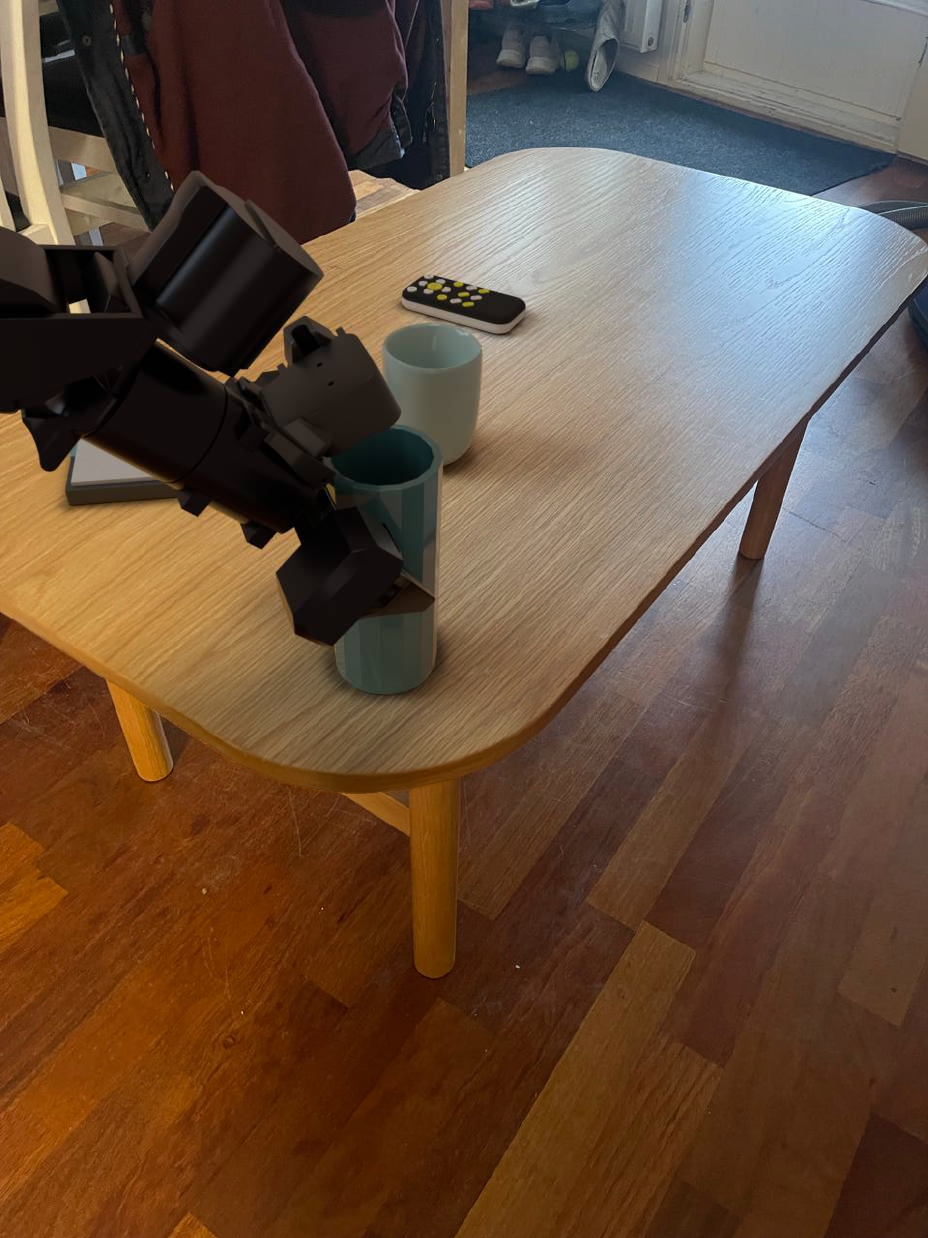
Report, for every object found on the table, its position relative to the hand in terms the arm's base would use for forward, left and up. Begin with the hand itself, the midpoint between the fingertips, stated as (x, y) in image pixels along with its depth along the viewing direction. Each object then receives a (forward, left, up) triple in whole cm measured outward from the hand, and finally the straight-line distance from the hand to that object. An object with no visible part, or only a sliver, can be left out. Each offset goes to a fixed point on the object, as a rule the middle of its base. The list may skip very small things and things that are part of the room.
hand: (402, 555), depth 57 cm
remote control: (+14, +49, -9) cm, 52 cm away
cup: (+6, +23, -9) cm, 25 cm away
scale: (-16, +27, -8) cm, 33 cm away
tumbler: (-1, 0, -8) cm, 9 cm away
